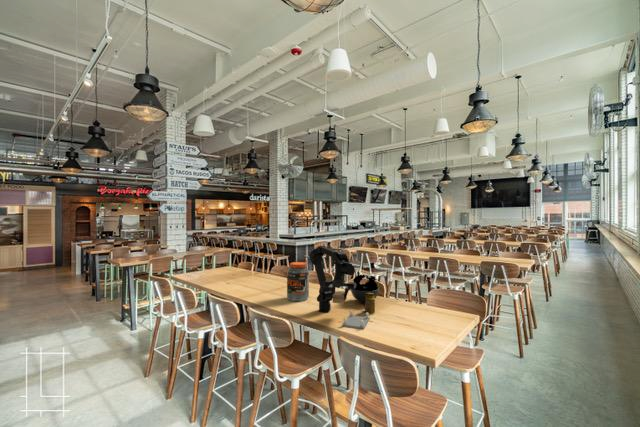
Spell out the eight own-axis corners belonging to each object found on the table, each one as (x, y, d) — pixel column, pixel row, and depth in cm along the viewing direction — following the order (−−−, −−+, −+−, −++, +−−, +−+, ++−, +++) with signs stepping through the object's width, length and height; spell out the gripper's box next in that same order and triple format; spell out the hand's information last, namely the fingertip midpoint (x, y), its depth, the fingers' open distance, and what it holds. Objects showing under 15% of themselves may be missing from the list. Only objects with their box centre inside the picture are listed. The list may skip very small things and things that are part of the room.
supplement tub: (284, 301, 208) (284, 264, 208) (290, 295, 224) (290, 261, 224) (306, 302, 206) (306, 265, 206) (310, 296, 221) (310, 261, 221)
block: (342, 303, 170) (342, 295, 170) (332, 302, 172) (332, 294, 172) (346, 299, 180) (346, 291, 180) (337, 298, 182) (337, 290, 182)
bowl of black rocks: (351, 297, 219) (351, 272, 219) (378, 298, 216) (378, 272, 216) (349, 305, 199) (350, 277, 199) (380, 307, 196) (380, 278, 196)
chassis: (363, 329, 158) (363, 321, 158) (342, 326, 162) (342, 318, 162) (369, 319, 173) (369, 312, 173) (349, 316, 177) (349, 310, 177)
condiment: (377, 312, 185) (377, 293, 185) (367, 315, 180) (367, 295, 180) (369, 309, 191) (369, 291, 191) (359, 312, 186) (359, 293, 186)
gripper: (320, 274, 172) (320, 300, 172) (351, 276, 165) (351, 304, 165) (326, 270, 182) (326, 296, 182) (356, 272, 176) (356, 299, 176)
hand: (339, 298), depth 176 cm, fingers closed on block, 6 cm apart
